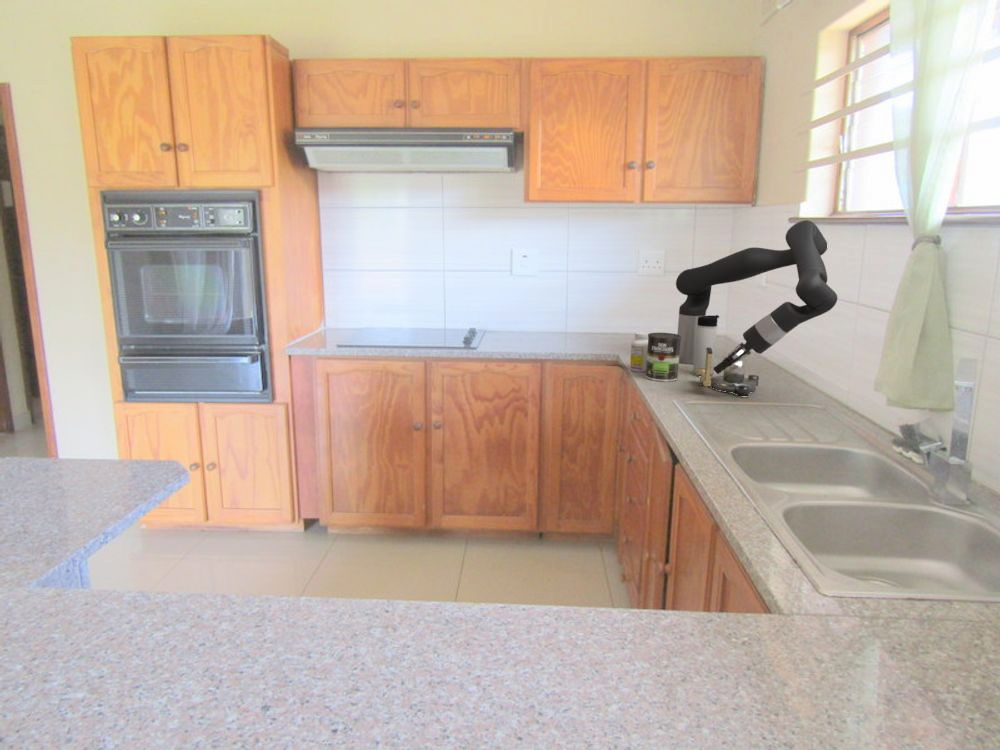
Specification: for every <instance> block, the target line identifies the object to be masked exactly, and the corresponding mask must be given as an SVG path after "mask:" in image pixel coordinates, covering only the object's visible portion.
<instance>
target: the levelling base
mask: <svg viewBox="0 0 1000 750" xmlns="http://www.w3.org/2000/svg"><path fill="white" fill-rule="evenodd" d="M746 363H747V360H746V359H745V358H743V359H741V360H740V361H739V362H737V363H733V364H732V365H731V366H729V367H727V368H726V369H724V370H723V374H722V375H716V376H715V375H714V376H711V377H710V379H711V387H712V388H714V389H717V390H721V391H726V392H733V393H735V394H737V395H738V396H748V397H749V393H750V392H753V393H755V392H756V386H757V387H758V385H759V379H760V377H759V375H755V374H749V375H748V377H745V374H746ZM699 384H701V385H703V382H702V379H701V377H699ZM701 385H700V386H701ZM711 387H710V388H711ZM712 388H711V389H712ZM754 391H755V392H754ZM735 394H734V395H735ZM750 394H751V393H750ZM738 396H737V397H738Z"/></svg>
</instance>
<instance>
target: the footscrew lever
mask: <svg viewBox="0 0 1000 750" xmlns="http://www.w3.org/2000/svg"><path fill="white" fill-rule="evenodd" d="M706 350H707V352H706V363H705V368H697V370H696V375H697V376H696V377H698V376H701V379H702V382H703V385H704V386H703V387H708V386H711V379H710V378H711V377H712V376H711V360H712V353H713V351H712V349H711V348H706ZM710 376H711V377H710Z"/></svg>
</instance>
